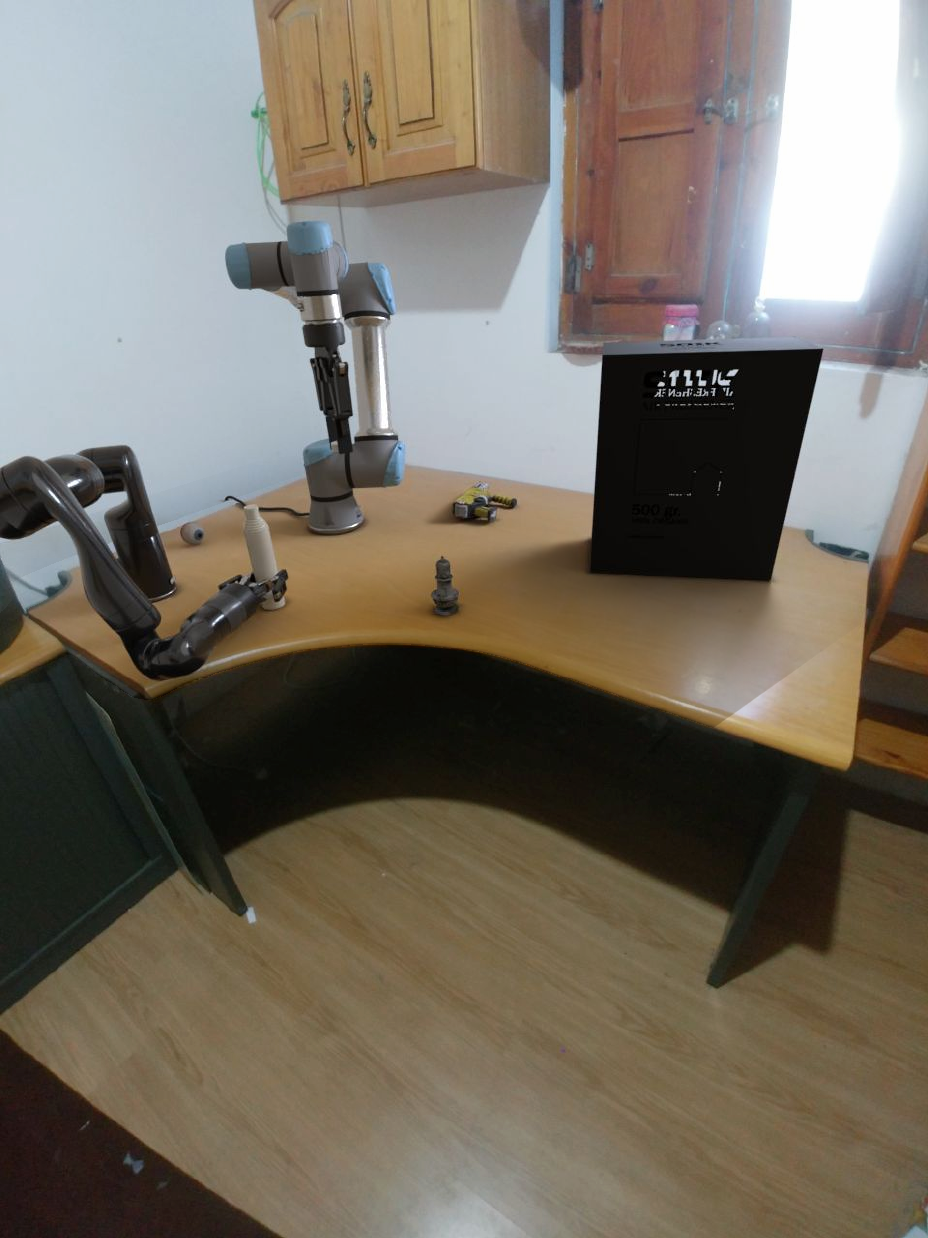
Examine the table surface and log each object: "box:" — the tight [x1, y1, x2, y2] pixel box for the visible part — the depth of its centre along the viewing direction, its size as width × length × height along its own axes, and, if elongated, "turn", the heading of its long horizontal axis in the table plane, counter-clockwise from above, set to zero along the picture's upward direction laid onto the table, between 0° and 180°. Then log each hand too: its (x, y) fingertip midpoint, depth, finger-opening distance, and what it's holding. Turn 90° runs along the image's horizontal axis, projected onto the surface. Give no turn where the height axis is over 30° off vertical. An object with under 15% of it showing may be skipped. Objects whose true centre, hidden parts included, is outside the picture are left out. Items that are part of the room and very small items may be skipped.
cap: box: [331, 441, 339, 452], centre depth 122 cm, size 4×4×2 cm
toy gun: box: [451, 480, 518, 523], centre depth 174 cm, size 5×24×15 cm
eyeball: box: [179, 521, 206, 546], centre depth 161 cm, size 6×6×6 cm
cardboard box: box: [589, 336, 824, 581], centre depth 128 cm, size 38×20×45 cm, turn 78°
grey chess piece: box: [430, 555, 461, 616], centre depth 121 cm, size 6×6×12 cm
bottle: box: [242, 503, 287, 611], centre depth 124 cm, size 5×5×22 cm
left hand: (273, 572), depth 129 cm, fingers closed on bottle, 5 cm apart
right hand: (341, 450), depth 122 cm, fingers closed on cap, 4 cm apart
